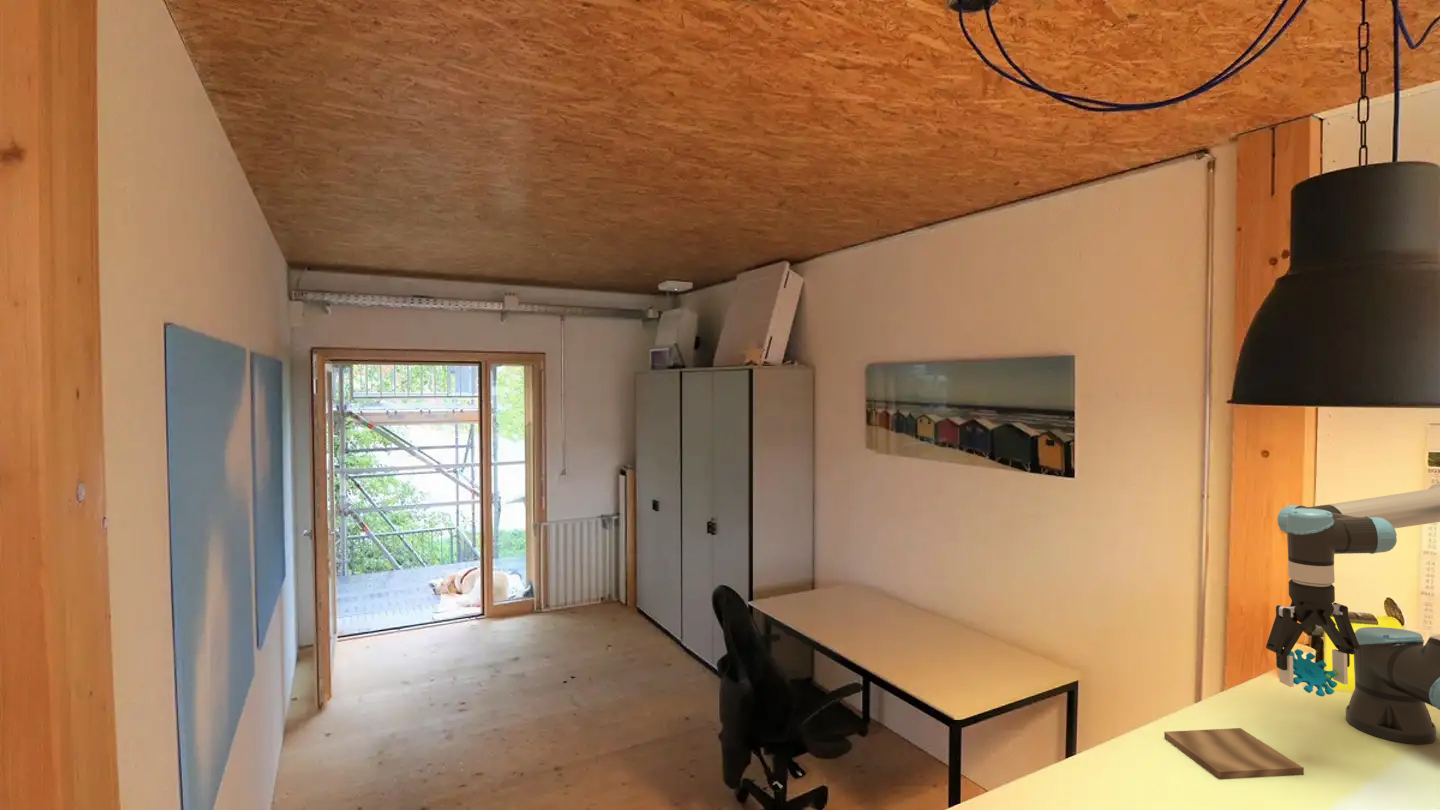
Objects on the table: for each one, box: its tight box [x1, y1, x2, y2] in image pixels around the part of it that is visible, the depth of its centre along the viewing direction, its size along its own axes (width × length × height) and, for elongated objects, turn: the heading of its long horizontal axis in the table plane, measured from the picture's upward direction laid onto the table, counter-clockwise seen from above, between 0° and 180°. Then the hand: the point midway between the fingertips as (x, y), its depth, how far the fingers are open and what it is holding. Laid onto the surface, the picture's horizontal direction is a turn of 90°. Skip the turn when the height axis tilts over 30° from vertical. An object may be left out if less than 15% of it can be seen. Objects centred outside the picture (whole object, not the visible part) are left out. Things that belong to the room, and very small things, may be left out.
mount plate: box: [1164, 727, 1305, 780], centre depth 151 cm, size 18×17×2 cm
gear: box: [1289, 648, 1338, 697], centre depth 149 cm, size 11×6×10 cm
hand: (1313, 683), depth 148 cm, fingers closed on gear, 11 cm apart
